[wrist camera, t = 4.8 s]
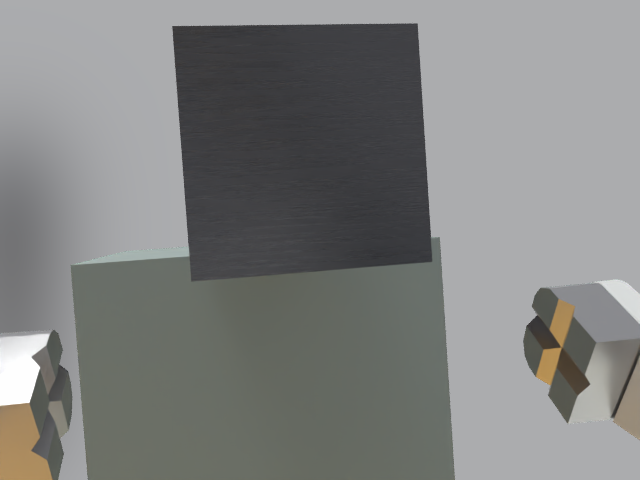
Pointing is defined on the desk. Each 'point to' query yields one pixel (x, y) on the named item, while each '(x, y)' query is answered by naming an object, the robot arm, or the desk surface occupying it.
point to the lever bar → (301, 148)
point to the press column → (262, 372)
